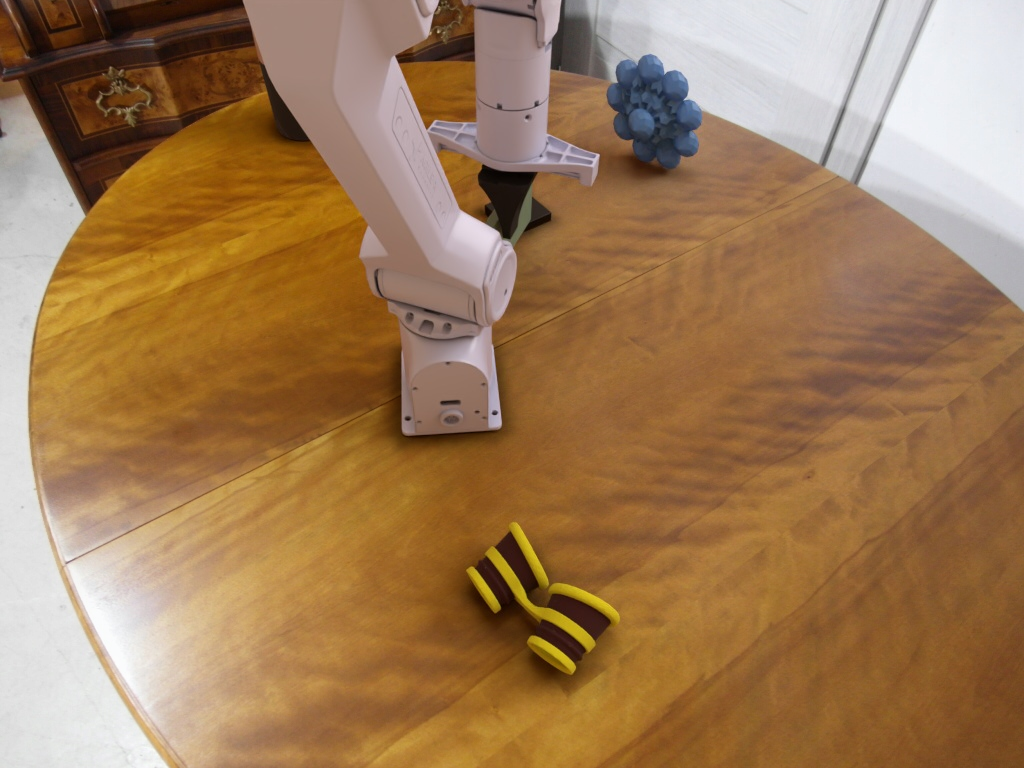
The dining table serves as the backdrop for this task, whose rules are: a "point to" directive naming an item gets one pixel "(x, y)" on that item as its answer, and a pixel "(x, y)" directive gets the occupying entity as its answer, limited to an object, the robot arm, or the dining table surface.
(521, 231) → the gate door
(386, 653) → the dining table surface
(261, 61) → the travel mug
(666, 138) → the grapes
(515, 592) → the opera glasses
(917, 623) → the dining table surface
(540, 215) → the hinge post
